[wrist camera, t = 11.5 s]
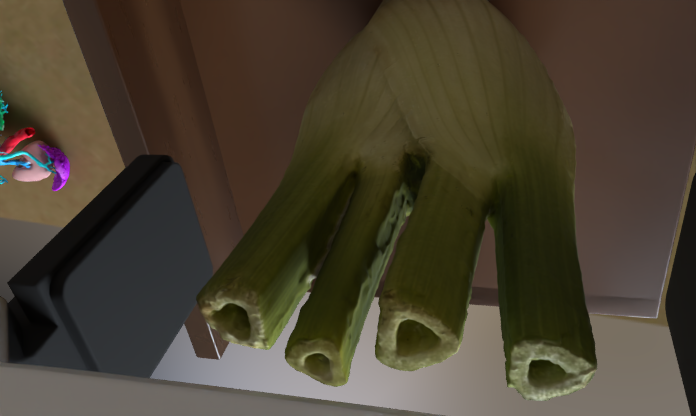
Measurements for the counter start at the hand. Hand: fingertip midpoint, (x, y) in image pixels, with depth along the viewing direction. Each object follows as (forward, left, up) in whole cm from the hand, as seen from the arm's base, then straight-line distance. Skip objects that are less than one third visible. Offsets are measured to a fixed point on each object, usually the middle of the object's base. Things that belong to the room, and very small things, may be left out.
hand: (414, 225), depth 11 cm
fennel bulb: (0, 0, -9) cm, 9 cm away
